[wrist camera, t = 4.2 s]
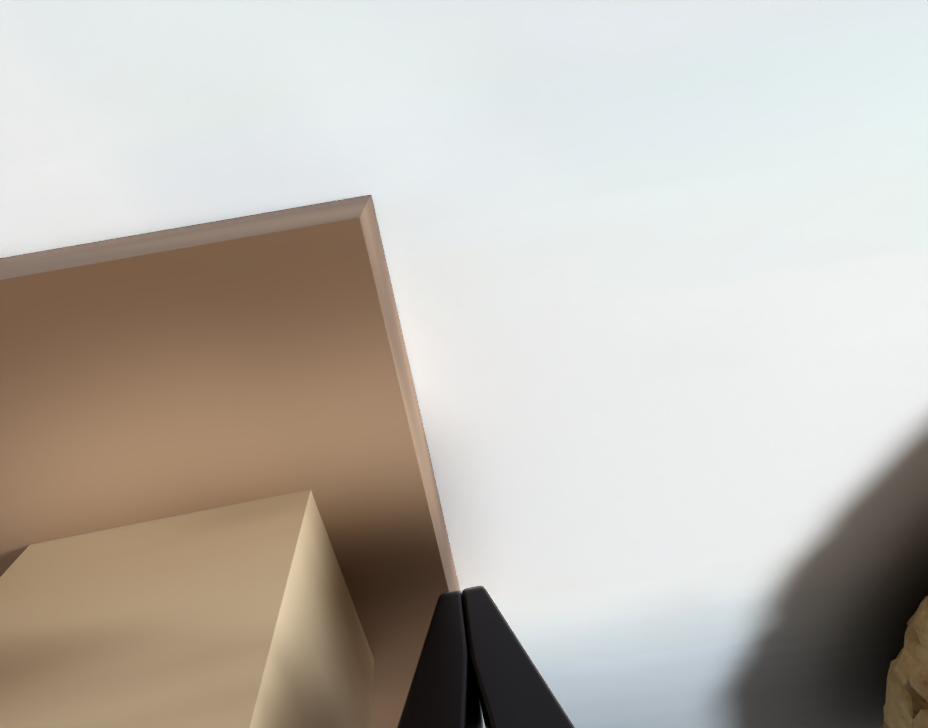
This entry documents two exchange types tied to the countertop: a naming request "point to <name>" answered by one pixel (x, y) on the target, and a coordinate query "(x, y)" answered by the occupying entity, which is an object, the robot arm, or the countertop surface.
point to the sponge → (909, 676)
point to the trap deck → (228, 402)
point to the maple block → (186, 626)
